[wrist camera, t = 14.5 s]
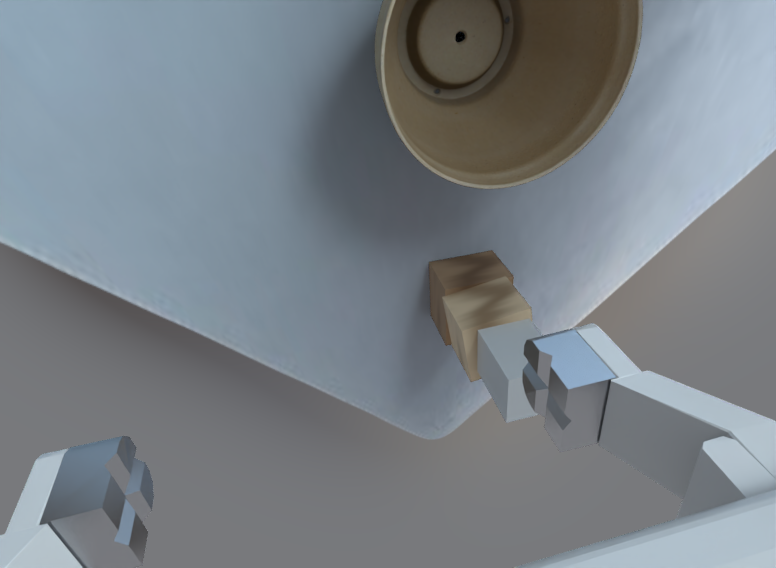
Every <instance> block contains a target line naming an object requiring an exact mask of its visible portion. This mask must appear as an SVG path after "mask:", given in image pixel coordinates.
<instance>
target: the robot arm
mask: <svg viewBox="0 0 776 568" xmlns="http://www.w3.org/2000/svg"><path fill="white" fill-rule="evenodd" d="M524 356H525V357H526V359H527V360H528V363H527V365H526V366H525V367H524V369H523V375H522V382H523V386H524V391H525V395H526V397H527V399H528V402H529V404H530V405H531V407H532V409H533V410H534V412H536V413H538V414H540V415H542V416H544V417H545V429H546V431H547V433H548V434H549V436H550V437H551V439H552V441H553V442H554V444H555V445H556V447H557V448H558V450H559V452H564V451H568V450H572V449H576V448H580V447H584V446H589V445H593V444H597V443H599V446H601V447H602V448H604V449H605V450H607V451H608V452H610V453H611V454H613V455H615V456H616V457H618V458H619V459H621V460H623V461H624V462H626V463H627V464H629V465H630V466H632V467H633V468H635V469H637V470H638V471H639V472H641V473H643V474H644V475H646V476H647V477H649V478H650V479H652V480H653V481H655V482H656V483H658V484H660V485H661V486H663V487H664V488H666V489H667V490H669V491H671V492H672V493H674V494H675V495H677V496H678V497H680V498H682V499H683V500H682V503H681V506H680V509H679V512H678V514H677V517H676V519H675V520H672V521H668V522H664V523H661V524H658V525H654V526H651V527H648V528H644V529H641V530H638V531H634V532H631V533H628V534H624V535H621V536H618V537H614V538H611V539H608V540H604V541H601V542H598V543H594V544H591V545H588V546H584V547H581V548H577V549H574V550H571V551H568V552H564V553H561V554H558V555H554V556H551V557H547V558H544V559H541V560H537V561H534V562H531V563H527V564H524V565H521V566H517V567H514V568H776V422H775V421H774V420H772V419H769V418H766V417H764V416H761V415H759V414H756V413H754V412H752V411H749V410H746V409H744V408H741V407H739V406H736V405H734V404H731V403H729V402H726V401H724V400H721V399H719V398H716V397H714V396H711V395H709V394H706V393H704V392H701V391H699V390H696V389H694V388H691V387H688V386H686V385H683V384H681V383H679V382H676V381H674V380H671V379H669V378H666V377H664V376H661V375H659V374H656V373H654V372H651V371H649V370H648V371H644V372H642V371H641V370H640V369H639V368H638V367H637V366H636V365H635V364H634V363H633V362H632V361H631V360H630V359H629V358H628V357H627V356H626V355H625V354H624V353H623V352H622V350H621V349H620V348H619V347H618V346H617V345H616V344H615V343H614V342H613V341H612V340H611V339H610V338H609V337H608V336H607V335H606V334H605V333H604V332H603V331H602V330H601V328H600V327H599V326H597V325H595V324H593V323H592V324H588V325H584V326H580V327H576V328H572V329H570V330H564V331H560V332H556V333H552V334H548V335H544V336H540V337H536V338H532V339H528V340H526V342H525V345H524ZM135 452H136V446H135V445H134V443H133V442H132V440H131V438H130V437H128V436H122V437H117V438H112V439H107V440H103V441H98V442H93V443H89V444H84V445H80V446H75V447H70V448H68V449H64V450H59V451H54V452H50V453H45V454H42V455H41V456H40V457H39V458H38V459H37V460H36V461H35V463H34V465H33V467H32V470H31V472H30V475H29V477H28V480H27V482H26V484H25V487H24V489H23V492H22V494H21V496H20V499H19V501H18V504H17V506H16V509H15V511H14V513H13V516H12V518H11V521H10V523H9V525H8V528H7V530H6V533H5V534H4V535H0V568H136V567H139V566H142V565H143V559H144V553H145V548H146V542H147V536H148V531H147V529H146V528H145V526H144V525H143V523H142V522H143V521H144V520H145V518H146V517H147V516H148V515H149V513H150V512H151V511H152V505H153V498H154V496H153V495H154V494H153V481H152V478H151V474H150V471H149V469H148V467H147V465H146V464H145V462H142V461H140V460H138V459H136V458H134V457H135Z"/></svg>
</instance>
